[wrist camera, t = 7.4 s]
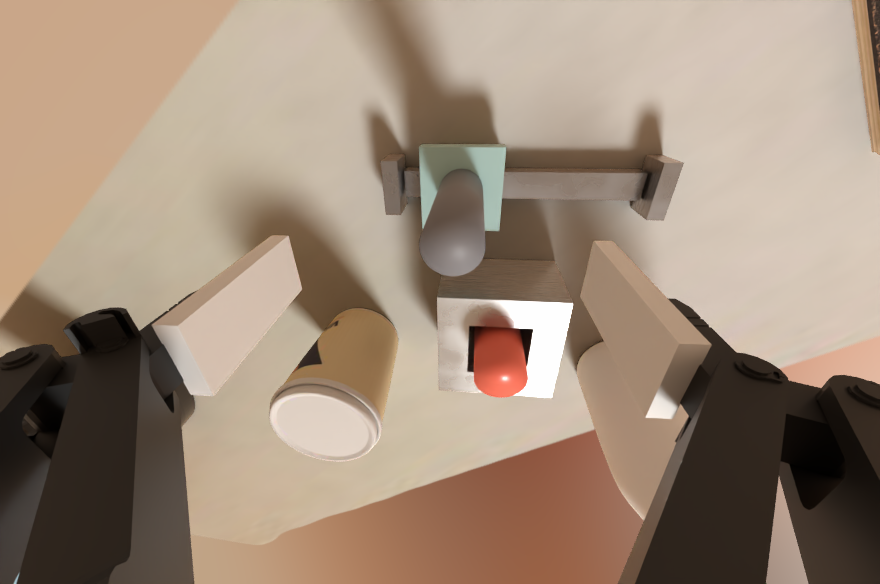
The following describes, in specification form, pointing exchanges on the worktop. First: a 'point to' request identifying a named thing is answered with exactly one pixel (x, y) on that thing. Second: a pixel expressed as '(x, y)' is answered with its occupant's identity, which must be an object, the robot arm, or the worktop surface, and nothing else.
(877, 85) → the hardcover book
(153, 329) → the robot arm
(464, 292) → the grey block with hole
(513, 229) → the worktop surface
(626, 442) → the milk bottle
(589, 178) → the rail
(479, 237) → the carriage
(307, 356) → the coffee cup
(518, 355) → the button
